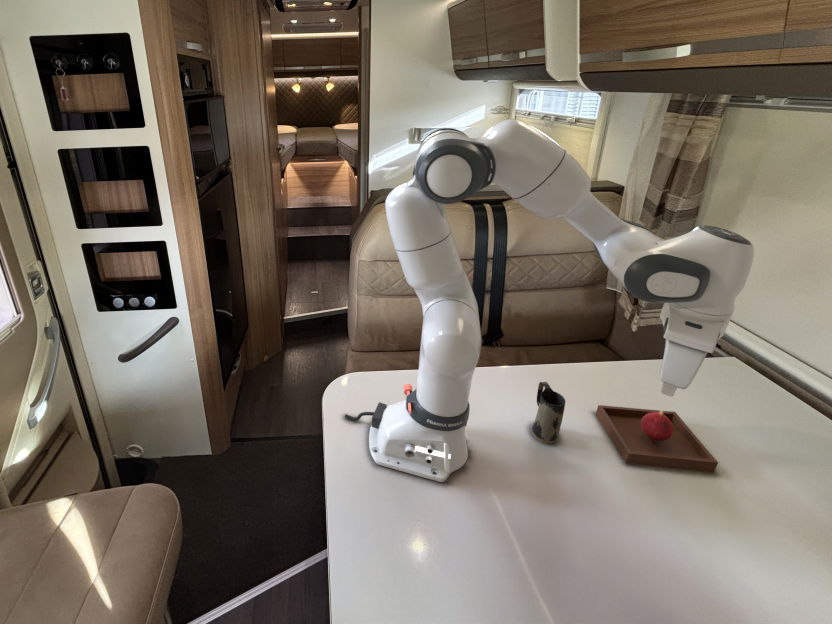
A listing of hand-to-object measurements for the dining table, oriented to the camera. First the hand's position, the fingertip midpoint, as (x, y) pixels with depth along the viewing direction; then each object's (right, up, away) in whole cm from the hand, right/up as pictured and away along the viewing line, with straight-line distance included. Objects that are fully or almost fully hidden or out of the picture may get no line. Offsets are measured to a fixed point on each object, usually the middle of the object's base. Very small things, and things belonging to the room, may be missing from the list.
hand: (669, 379), depth 80 cm
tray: (+12, -21, +20) cm, 31 cm away
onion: (+12, -20, +19) cm, 31 cm away
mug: (-12, -20, +23) cm, 33 cm away
